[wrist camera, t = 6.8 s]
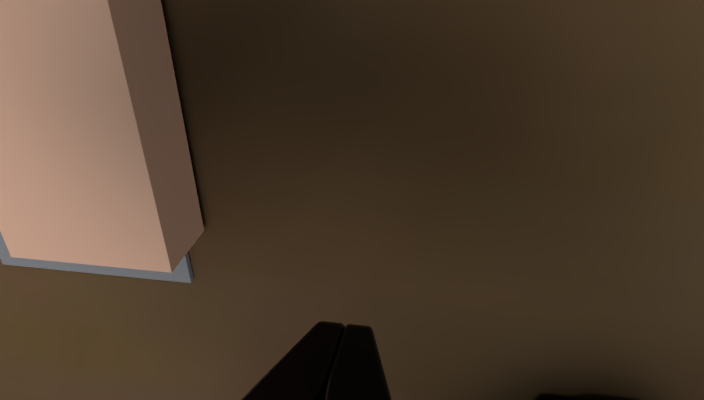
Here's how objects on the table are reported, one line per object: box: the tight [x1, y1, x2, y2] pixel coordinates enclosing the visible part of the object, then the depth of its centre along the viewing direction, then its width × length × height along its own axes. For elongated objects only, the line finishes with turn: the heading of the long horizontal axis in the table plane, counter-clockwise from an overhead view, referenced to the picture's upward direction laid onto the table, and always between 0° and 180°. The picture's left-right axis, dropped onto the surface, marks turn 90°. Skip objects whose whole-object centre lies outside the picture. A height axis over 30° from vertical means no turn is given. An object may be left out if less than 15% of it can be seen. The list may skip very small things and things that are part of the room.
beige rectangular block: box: [0, 0, 204, 273], centre depth 19 cm, size 12×3×7 cm
